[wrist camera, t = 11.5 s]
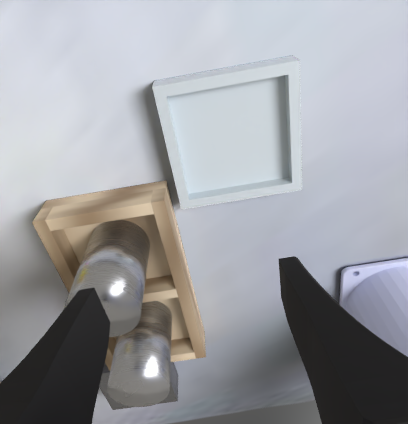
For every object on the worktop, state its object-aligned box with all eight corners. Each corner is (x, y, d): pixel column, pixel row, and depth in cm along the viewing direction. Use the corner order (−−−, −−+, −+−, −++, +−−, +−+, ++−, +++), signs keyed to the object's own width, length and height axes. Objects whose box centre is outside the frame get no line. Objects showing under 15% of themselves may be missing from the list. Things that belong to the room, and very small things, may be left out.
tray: (292, 55, 19) (299, 60, 18) (296, 179, 23) (302, 189, 22) (154, 80, 20) (152, 87, 18) (181, 198, 24) (181, 209, 22)
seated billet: (165, 295, 27) (161, 367, 22) (177, 329, 29) (175, 402, 24) (114, 303, 27) (98, 376, 22) (129, 336, 29) (117, 410, 24)
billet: (145, 217, 23) (133, 283, 18) (154, 263, 25) (146, 334, 20) (83, 222, 23) (54, 289, 18) (97, 268, 25) (75, 339, 20)
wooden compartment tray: (166, 180, 23) (164, 200, 21) (204, 331, 31) (205, 357, 29) (46, 200, 23) (31, 222, 21) (114, 344, 31) (109, 370, 29)
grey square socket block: (165, 338, 31) (163, 364, 29) (178, 375, 34) (177, 401, 32) (98, 348, 32) (92, 374, 29) (117, 383, 34) (112, 409, 32)
